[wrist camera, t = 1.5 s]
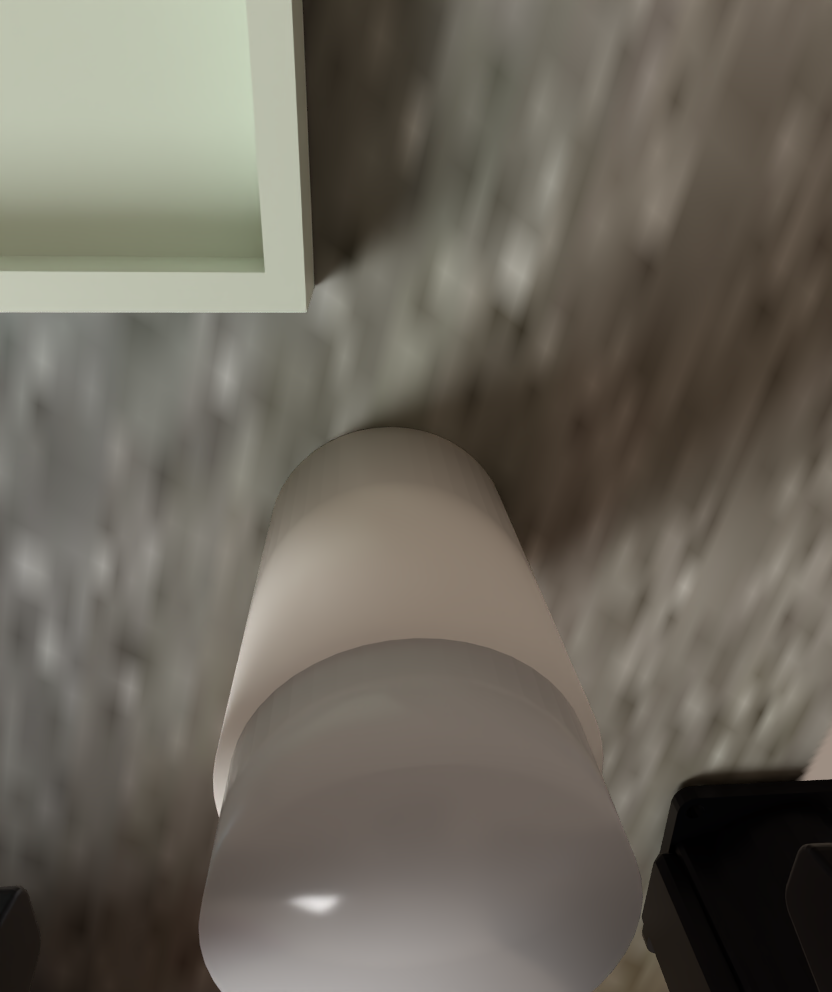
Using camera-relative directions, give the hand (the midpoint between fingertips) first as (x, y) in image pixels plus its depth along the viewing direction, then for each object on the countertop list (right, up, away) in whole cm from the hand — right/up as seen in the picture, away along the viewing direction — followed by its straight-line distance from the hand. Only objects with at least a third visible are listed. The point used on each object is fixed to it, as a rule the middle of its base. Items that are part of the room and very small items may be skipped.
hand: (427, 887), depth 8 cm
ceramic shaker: (-1, +4, +8) cm, 8 cm away
